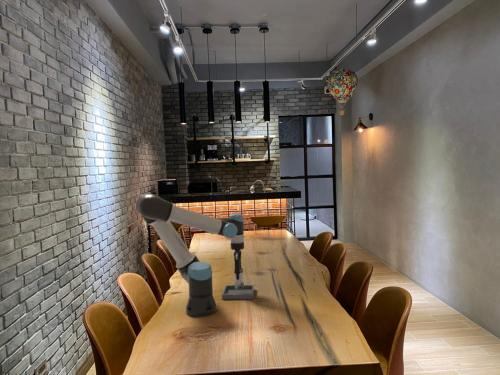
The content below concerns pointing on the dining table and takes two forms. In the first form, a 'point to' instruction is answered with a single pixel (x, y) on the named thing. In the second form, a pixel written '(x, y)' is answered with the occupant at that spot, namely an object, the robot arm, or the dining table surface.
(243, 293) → the tray
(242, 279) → the shaker
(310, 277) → the dining table surface
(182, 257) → the robot arm
